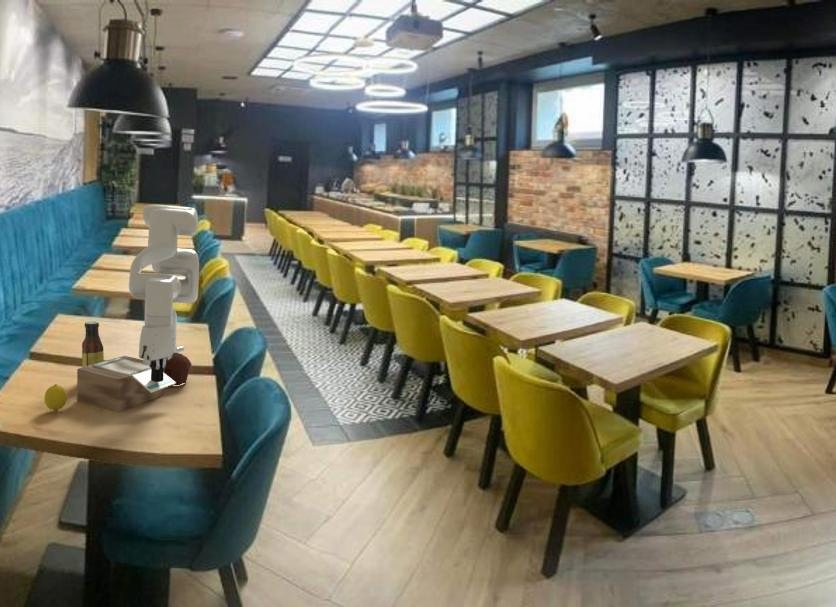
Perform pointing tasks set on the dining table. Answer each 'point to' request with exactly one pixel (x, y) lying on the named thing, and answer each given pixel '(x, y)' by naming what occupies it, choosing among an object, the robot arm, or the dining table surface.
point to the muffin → (177, 368)
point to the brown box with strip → (114, 384)
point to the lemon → (55, 397)
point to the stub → (150, 385)
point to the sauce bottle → (92, 345)
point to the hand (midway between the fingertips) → (157, 380)
